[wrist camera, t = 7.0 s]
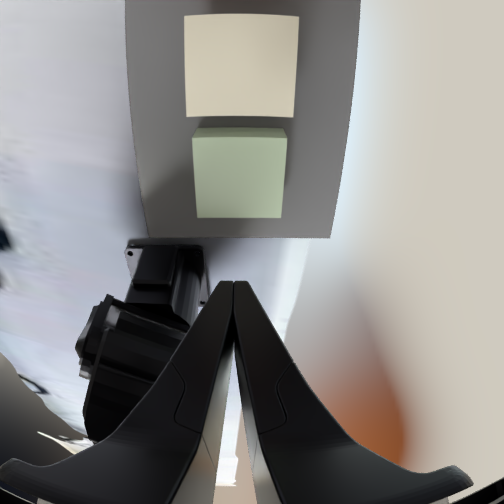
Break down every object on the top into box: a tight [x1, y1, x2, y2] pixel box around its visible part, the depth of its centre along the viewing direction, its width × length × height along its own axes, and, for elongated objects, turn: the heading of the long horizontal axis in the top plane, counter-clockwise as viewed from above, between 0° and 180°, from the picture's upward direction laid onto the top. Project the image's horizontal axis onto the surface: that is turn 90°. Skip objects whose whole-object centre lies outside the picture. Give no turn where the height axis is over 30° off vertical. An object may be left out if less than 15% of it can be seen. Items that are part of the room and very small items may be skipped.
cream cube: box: [184, 14, 299, 117], centre depth 13 cm, size 5×5×5 cm
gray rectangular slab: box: [125, 0, 361, 238], centre depth 15 cm, size 22×12×3 cm, turn 179°
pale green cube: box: [192, 127, 287, 218], centre depth 18 cm, size 5×5×5 cm
